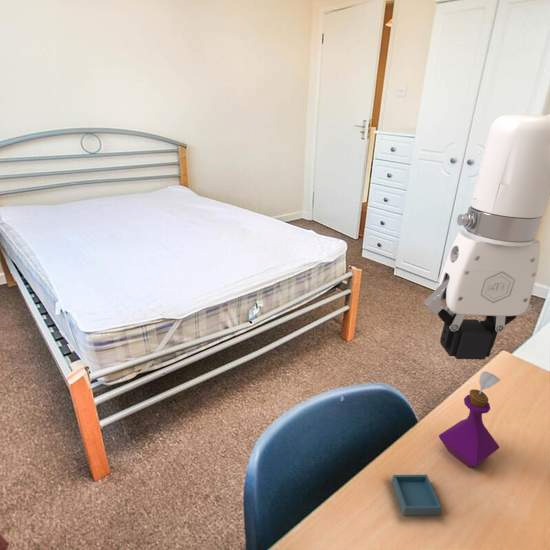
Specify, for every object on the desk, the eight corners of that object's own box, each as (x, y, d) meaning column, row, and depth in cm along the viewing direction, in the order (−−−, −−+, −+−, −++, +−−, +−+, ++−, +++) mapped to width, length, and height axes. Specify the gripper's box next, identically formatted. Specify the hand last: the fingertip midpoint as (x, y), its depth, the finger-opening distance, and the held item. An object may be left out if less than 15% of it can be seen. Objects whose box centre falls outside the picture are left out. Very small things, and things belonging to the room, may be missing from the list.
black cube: (470, 342, 56) (477, 319, 54) (485, 359, 52) (493, 334, 50) (443, 342, 55) (449, 318, 54) (456, 359, 52) (463, 334, 50)
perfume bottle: (471, 479, 66) (499, 398, 59) (434, 448, 72) (455, 371, 64) (495, 460, 70) (524, 381, 62) (458, 432, 75) (481, 357, 68)
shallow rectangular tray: (424, 481, 65) (426, 474, 64) (439, 515, 60) (441, 507, 59) (391, 482, 65) (393, 474, 64) (403, 515, 60) (405, 508, 59)
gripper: (446, 232, 42) (415, 366, 50) (591, 236, 43) (539, 368, 50) (420, 214, 49) (396, 335, 57) (546, 218, 50) (506, 337, 57)
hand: (464, 349), depth 53 cm, fingers closed on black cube, 4 cm apart
